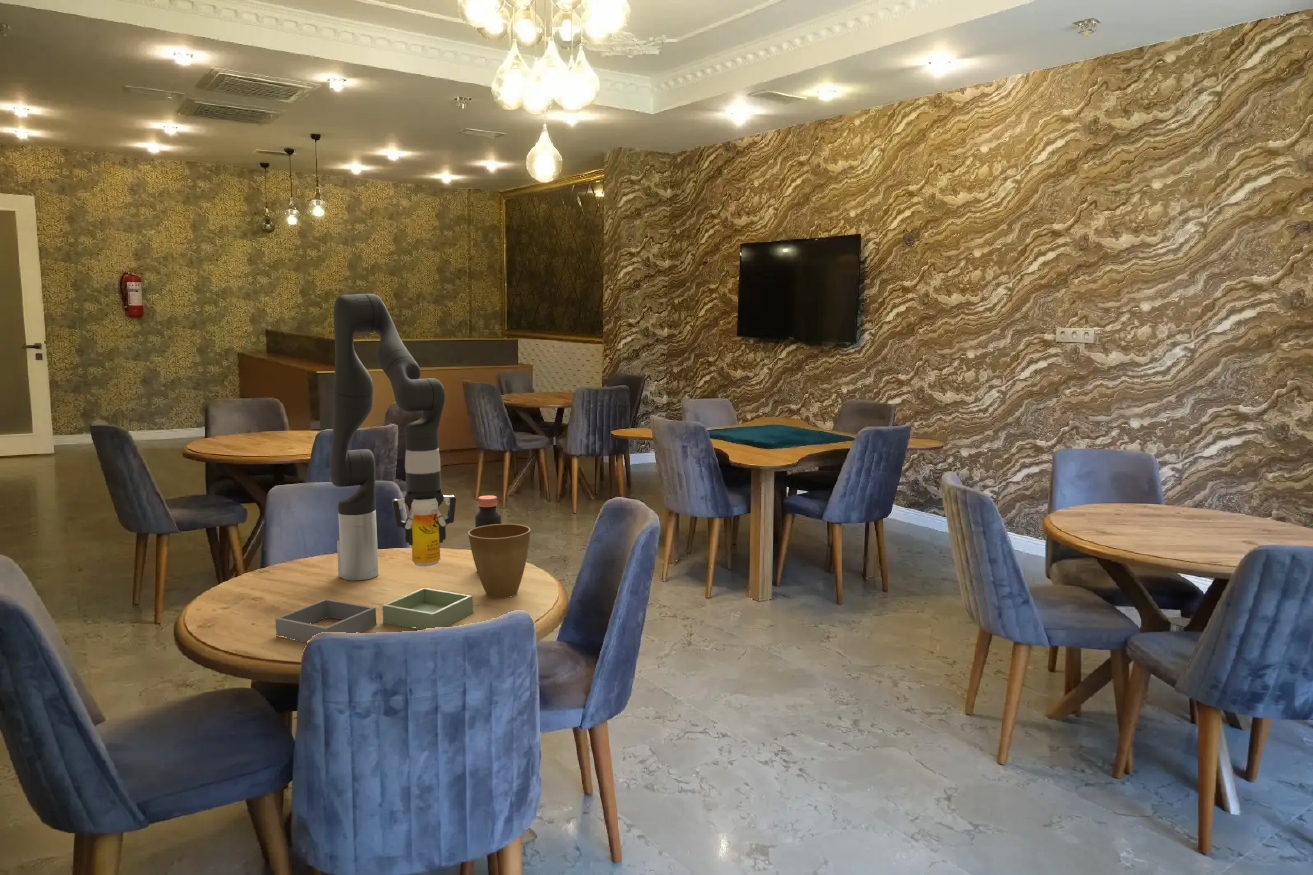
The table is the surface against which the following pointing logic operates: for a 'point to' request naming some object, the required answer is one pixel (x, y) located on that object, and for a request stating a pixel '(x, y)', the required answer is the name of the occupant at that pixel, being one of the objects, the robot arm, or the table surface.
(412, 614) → the olive bin
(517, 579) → the plant pot
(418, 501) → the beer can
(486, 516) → the bottle
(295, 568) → the table surface
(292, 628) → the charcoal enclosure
